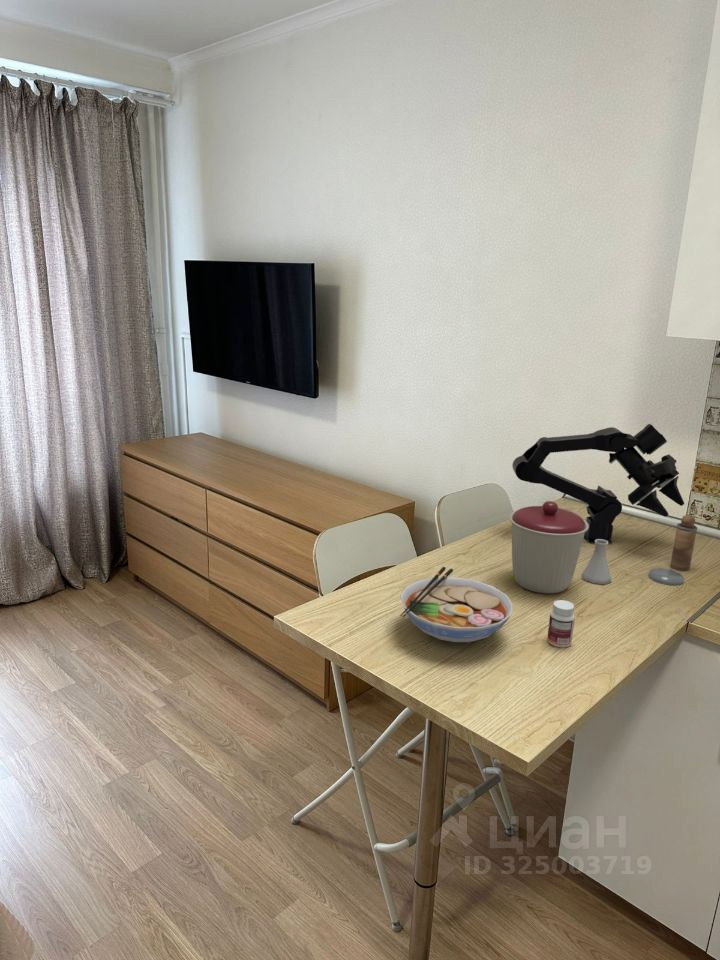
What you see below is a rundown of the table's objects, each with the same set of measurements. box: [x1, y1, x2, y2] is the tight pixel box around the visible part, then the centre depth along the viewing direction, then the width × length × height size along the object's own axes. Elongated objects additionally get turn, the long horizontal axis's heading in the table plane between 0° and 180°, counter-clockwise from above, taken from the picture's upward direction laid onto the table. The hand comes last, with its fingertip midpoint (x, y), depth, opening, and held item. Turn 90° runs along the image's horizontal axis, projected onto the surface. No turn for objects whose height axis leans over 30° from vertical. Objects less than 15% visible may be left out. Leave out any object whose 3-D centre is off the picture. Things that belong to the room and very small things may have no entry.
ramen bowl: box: [400, 566, 514, 643], centre depth 136 cm, size 25×23×8 cm
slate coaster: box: [648, 567, 685, 586], centre depth 166 cm, size 8×8×1 cm
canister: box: [508, 500, 589, 594], centre depth 158 cm, size 18×18×21 cm
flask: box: [581, 539, 612, 585], centre depth 164 cm, size 7×7×10 cm
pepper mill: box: [669, 514, 698, 572], centre depth 171 cm, size 5×5×14 cm
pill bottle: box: [546, 599, 576, 648], centre depth 134 cm, size 5×5×8 cm
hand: (675, 510), depth 178 cm, fingers open, 9 cm apart
